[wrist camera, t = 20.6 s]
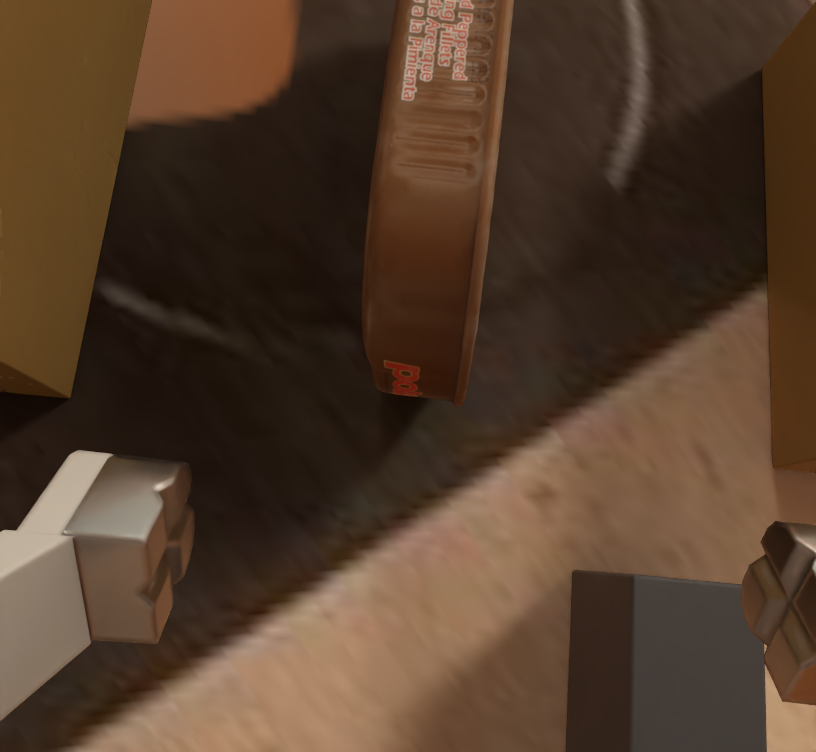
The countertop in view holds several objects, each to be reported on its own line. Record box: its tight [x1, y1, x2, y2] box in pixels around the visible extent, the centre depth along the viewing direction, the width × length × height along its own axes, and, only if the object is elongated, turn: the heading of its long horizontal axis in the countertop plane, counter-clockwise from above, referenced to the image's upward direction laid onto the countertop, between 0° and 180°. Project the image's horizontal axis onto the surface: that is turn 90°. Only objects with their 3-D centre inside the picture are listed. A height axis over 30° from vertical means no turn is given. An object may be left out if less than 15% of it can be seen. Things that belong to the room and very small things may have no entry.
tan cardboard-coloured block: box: [0, 0, 152, 398], centre depth 19 cm, size 3×14×8 cm, turn 175°
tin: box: [362, 0, 514, 406], centre depth 20 cm, size 15×3×8 cm, turn 173°
